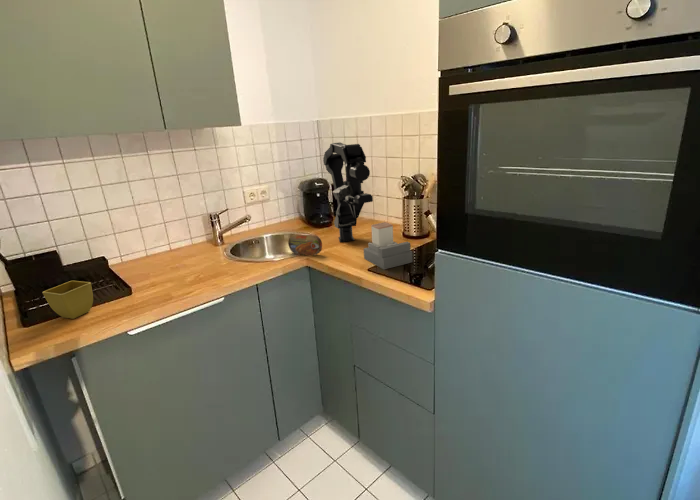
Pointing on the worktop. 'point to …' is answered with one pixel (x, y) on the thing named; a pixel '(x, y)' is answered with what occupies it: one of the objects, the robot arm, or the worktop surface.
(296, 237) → the tin
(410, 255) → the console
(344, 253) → the worktop surface
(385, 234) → the white block
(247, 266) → the worktop surface
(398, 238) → the worktop surface
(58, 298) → the flower pot
